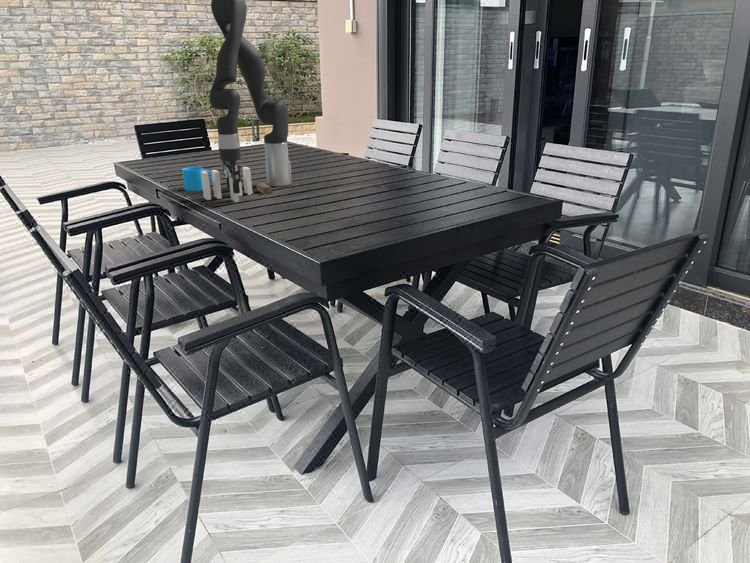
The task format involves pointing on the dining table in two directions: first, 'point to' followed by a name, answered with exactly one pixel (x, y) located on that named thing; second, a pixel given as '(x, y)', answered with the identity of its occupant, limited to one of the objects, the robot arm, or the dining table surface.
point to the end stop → (264, 188)
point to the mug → (193, 178)
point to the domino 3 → (233, 196)
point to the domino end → (247, 180)
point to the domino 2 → (216, 184)
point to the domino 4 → (240, 188)
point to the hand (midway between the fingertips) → (233, 191)
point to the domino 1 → (206, 185)
